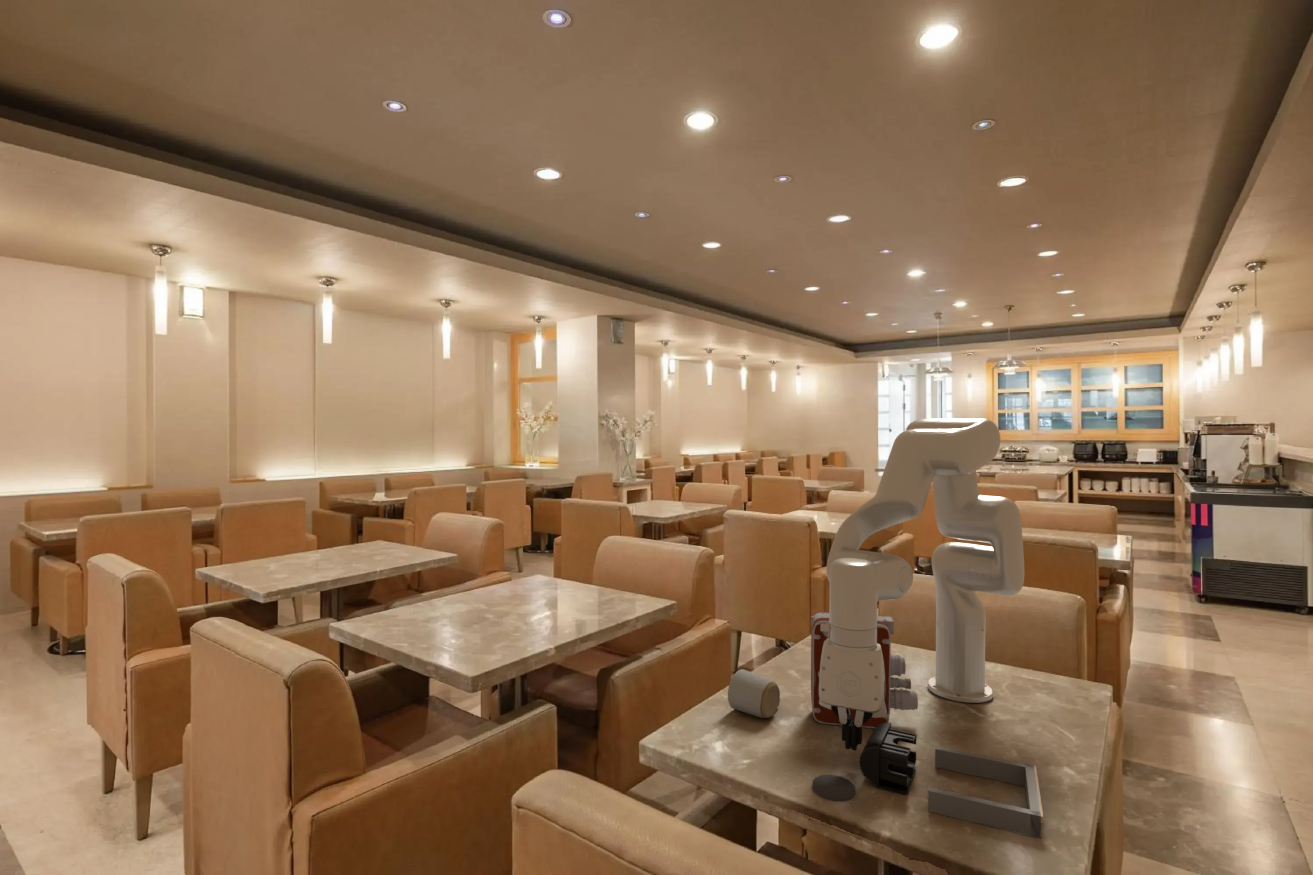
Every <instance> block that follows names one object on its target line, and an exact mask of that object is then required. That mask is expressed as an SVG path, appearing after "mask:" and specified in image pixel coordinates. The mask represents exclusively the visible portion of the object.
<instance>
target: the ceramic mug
mask: <svg viewBox="0 0 1313 875" xmlns="http://www.w3.org/2000/svg"><path fill="white" fill-rule="evenodd" d="M727 690H728V691H727V702H728V705H729V706H730V708H731V709H733V710H736V711H739V712H742V713H745V714H748V715H751V716H754V717H756V718H757V717H758V718H761V719H770V718H771V717H772V716H774V714H775V713H776V711H777V709H778V707H779V705H780V702H781V691H780V688H779V686H778V684H777V683H776V681H773V680H772V679H769V678H767V677H764V676H761V675H759V674H756V673H753V672H751V671H748V670H746V669H742V668H741V669H738V670H737V671H736V672H735V673H734V674H733V675H732V677H731V679H730V682H729V684H728V688H727Z"/></svg>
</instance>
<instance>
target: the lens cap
mask: <svg viewBox="0 0 1313 875" xmlns="http://www.w3.org/2000/svg"><path fill="white" fill-rule="evenodd" d="M811 786H812V791H813V793H815V794H816V796H818V797H821V798H823V799H825V800H828V801H831V802H832V801H833V802H847V801H850V800H852V799H853V798H855V796H856V786H855V784H854V783H853V782H852V781H851V780H849V779H847V778H846V777H844V776H843V777H842V776H840V775H836V774H835V775H834V774H821V775H818V776H816V777H814V779H813V780H812V785H811Z"/></svg>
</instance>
